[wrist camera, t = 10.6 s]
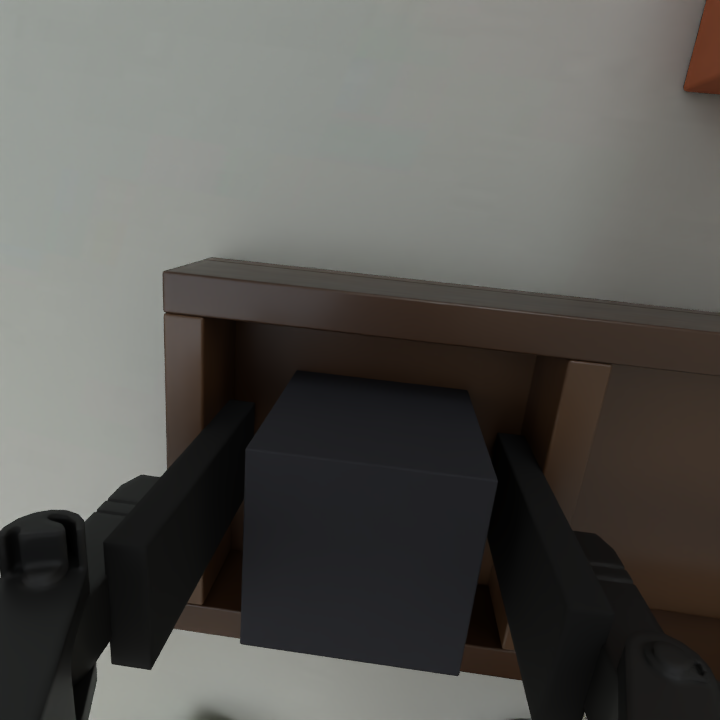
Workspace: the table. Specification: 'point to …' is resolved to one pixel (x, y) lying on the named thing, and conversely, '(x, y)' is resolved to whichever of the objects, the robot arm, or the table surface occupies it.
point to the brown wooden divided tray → (481, 413)
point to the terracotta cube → (706, 53)
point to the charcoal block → (365, 522)
